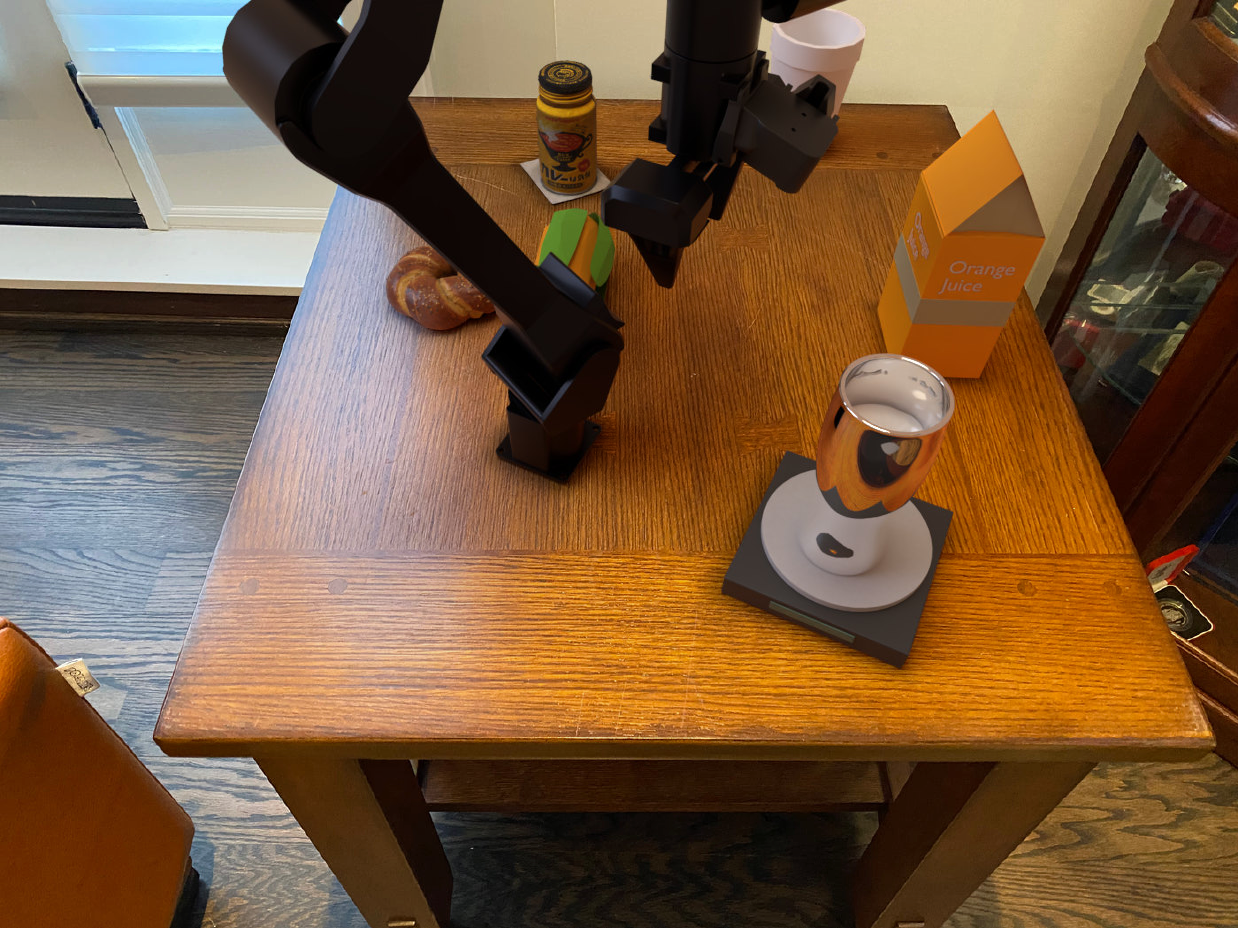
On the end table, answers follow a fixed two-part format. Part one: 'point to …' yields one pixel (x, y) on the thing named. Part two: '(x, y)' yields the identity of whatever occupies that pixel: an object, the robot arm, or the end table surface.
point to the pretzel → (433, 291)
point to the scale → (829, 603)
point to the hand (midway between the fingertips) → (690, 251)
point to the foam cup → (818, 49)
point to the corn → (580, 246)
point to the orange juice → (961, 255)
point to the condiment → (566, 134)
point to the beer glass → (872, 458)
